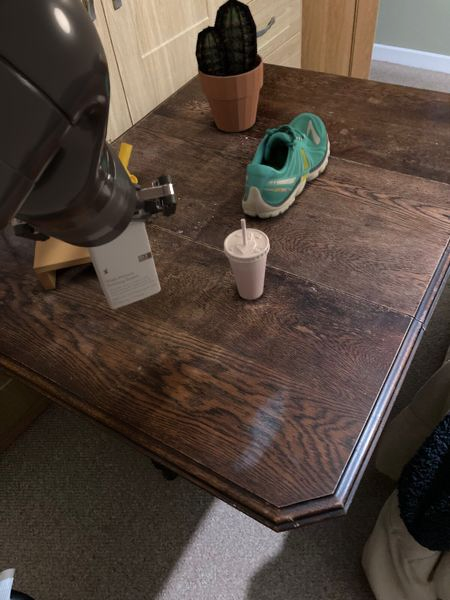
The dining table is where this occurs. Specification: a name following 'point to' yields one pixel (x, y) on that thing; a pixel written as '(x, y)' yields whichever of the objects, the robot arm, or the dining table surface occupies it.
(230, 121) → the potted plant
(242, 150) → the dining table surface
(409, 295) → the dining table surface
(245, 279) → the smoothie
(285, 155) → the running shoe
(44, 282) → the wooden display riser
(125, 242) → the cosmetic box
